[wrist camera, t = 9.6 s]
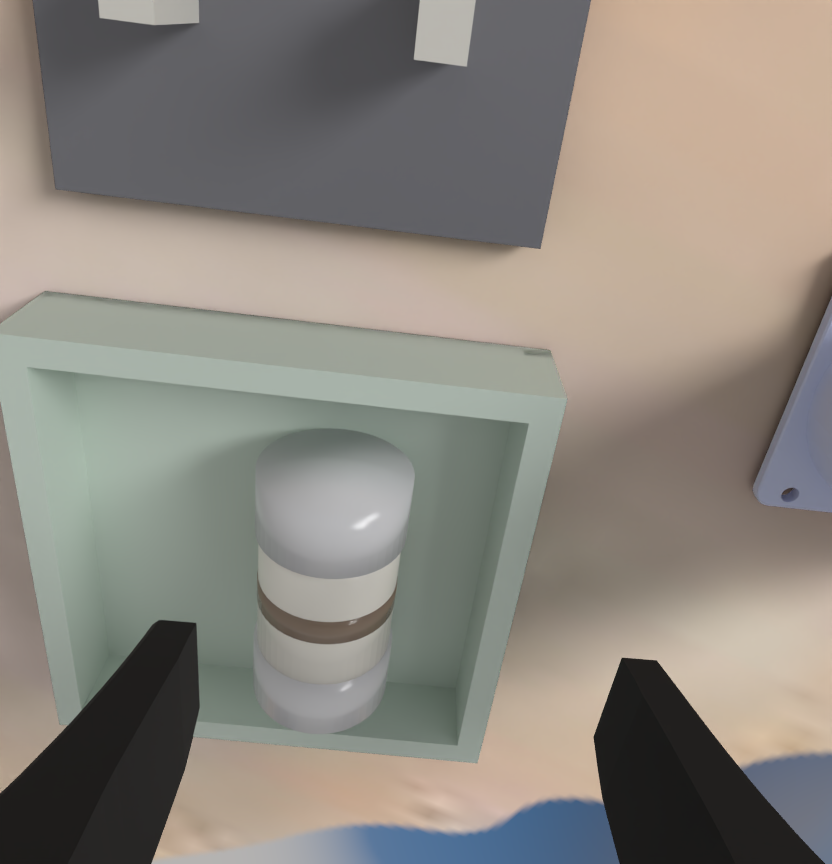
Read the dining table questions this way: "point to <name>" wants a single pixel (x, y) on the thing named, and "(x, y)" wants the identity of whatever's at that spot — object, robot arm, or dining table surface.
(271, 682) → the fuse
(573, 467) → the dining table surface
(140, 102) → the fuse block
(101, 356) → the parts tray
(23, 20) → the dining table surface
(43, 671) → the dining table surface
